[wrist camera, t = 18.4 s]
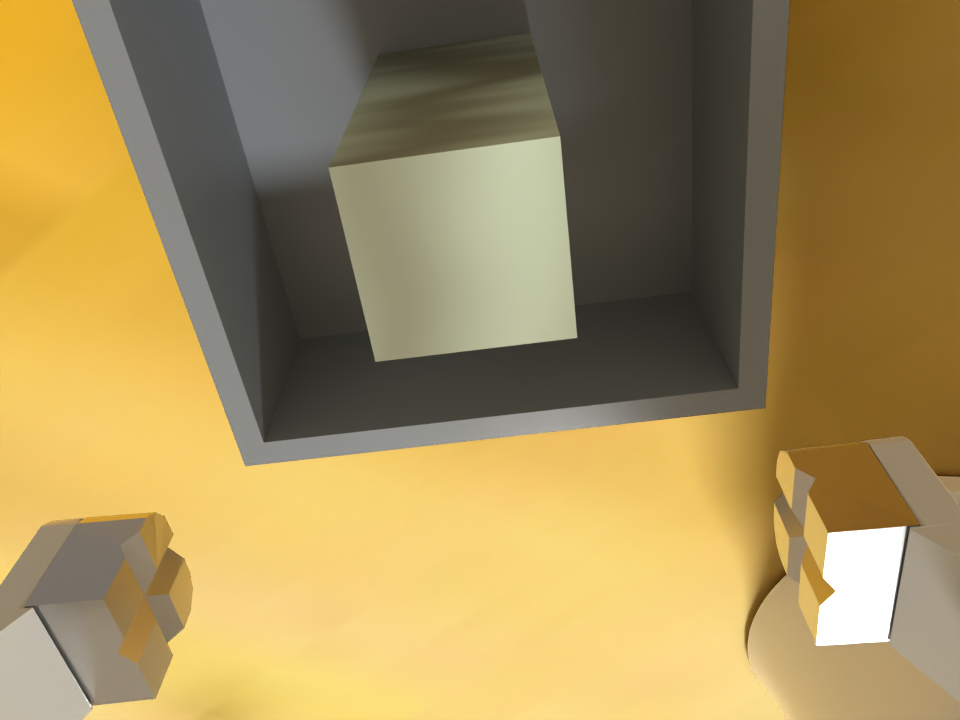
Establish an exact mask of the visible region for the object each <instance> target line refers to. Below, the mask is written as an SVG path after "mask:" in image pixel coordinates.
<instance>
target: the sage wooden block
mask: <svg viewBox="0 0 960 720" xmlns="http://www.w3.org/2000/svg"><path fill="white" fill-rule="evenodd" d="M329 172H330V176H331V180H332V184H333V188H334V192H335V196H336V201H337V205H338V209H339V213H340V217H341V221H342V225H343V230H344V234H345V238H346V242H347V246H348V250H349V254H350V258H351V263H352V267H353V271H354V275H355V279H356V283H357V287H358V292H359V296H360V300H361V304H362V308H363V312H364V316H365V321H366V325H367V329H368V333H369V337H370V341H371V345H372V350H373V354H374V358H375V362H379V361H387V360H396V359H404V358H412V357H421V356H429V355H438V354H446V353H454V352H463V351H471V350H480V349H488V348H496V347H505V346H513V345H522V344H530V343H538V342H547V341H555V340H564V339H572V338H577V328H576V317H575V305H574V293H573V281H572V269H571V258H570V246H569V234H568V222H567V210H566V199H565V187H564V175H563V163H562V151H561V140H560V134H559V130H558V127H557V123H556V120H555V117H554V113H553V110H552V106H551V103H550V99H549V96H548V92H547V89H546V86H545V82H544V79H543V75H542V72H541V68H540V65H539V61H538V58H537V55H536V51H535V48H534V44H533V41H532V37H531V34H530V32H529V33H522V34H515V35H508V36H502V37H495V38H488V39H481V40H474V41H467V42H460V43H453V44H446V45H439V46H432V47H425V48H418V49H412V50H405V51H398V52H391V53H384V54H379V55H378V58H377V60H376V62H375V64H374V67H373V69H372V71H371V73H370V76H369V78H368V80H367V82H366V85H365V87H364V89H363V91H362V94H361V96H360V98H359V100H358V103H357V105H356V107H355V109H354V112H353V114H352V116H351V118H350V121H349V123H348V125H347V127H346V130H345V132H344V134H343V136H342V139H341V141H340V143H339V145H338V148H337V150H336V152H335V154H334V157H333V159H332V161H331V163H330V166H329Z"/></svg>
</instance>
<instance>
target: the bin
mask: <svg viewBox="0 0 960 720" xmlns="http://www.w3.org/2000/svg"><path fill="white" fill-rule="evenodd" d="M72 2H73V4H74V7H75V10H76V12H77V15H78V18H79V21H80V23H81V26H82V29H83V31H84V34H85V37H86V39H87V42H88V45H89V47H90V50H91V53H92V55H93V58H94V61H95V64H96V66H97V69H98V72H99V74H100V77H101V80H102V82H103V85H104V88H105V90H106V93H107V96H108V98H109V101H110V104H111V107H112V109H113V112H114V115H115V117H116V120H117V123H118V125H119V128H120V131H121V133H122V136H123V139H124V141H125V144H126V147H127V150H128V152H129V155H130V158H131V160H132V163H133V166H134V168H135V171H136V174H137V176H138V179H139V182H140V184H141V187H142V190H143V193H144V195H145V198H146V201H147V203H148V206H149V209H150V211H151V214H152V217H153V219H154V222H155V225H156V227H157V230H158V233H159V236H160V238H161V241H162V244H163V246H164V249H165V252H166V254H167V257H168V260H169V262H170V265H171V268H172V270H173V273H174V276H175V279H176V281H177V284H178V287H179V289H180V292H181V295H182V297H183V300H184V303H185V305H186V308H187V311H188V313H189V316H190V319H191V321H192V324H193V327H194V330H195V332H196V335H197V338H198V340H199V343H200V346H201V348H202V351H203V354H204V356H205V359H206V362H207V364H208V367H209V370H210V373H211V375H212V378H213V381H214V383H215V386H216V389H217V391H218V394H219V397H220V399H221V402H222V405H223V407H224V410H225V413H226V416H227V418H228V421H229V424H230V426H231V429H232V432H233V434H234V437H235V440H236V442H237V445H238V448H239V450H240V453H241V456H242V459H243V461H244V464H245V466H251V465H260V464H269V463H278V462H287V461H296V460H305V459H314V458H323V457H332V456H340V455H349V454H358V453H367V452H376V451H385V450H394V449H403V448H412V447H421V446H430V445H439V444H448V443H457V442H466V441H475V440H483V439H492V438H501V437H510V436H519V435H528V434H537V433H546V432H555V431H564V430H573V429H582V428H591V427H600V426H609V425H618V424H626V423H635V422H644V421H653V420H662V419H671V418H680V417H689V416H698V415H707V414H716V413H725V412H734V411H743V410H752V409H761V408H765V405H766V388H767V372H768V355H769V338H770V322H771V305H772V289H773V272H774V255H775V239H776V222H777V205H778V189H779V172H780V156H781V139H782V122H783V106H784V89H785V72H786V56H787V39H788V23H789V6H790V0H72ZM529 32H530V34H531V37H532V41H533V44H534V48H535V51H536V55H537V58H538V61H539V65H540V68H541V72H542V75H543V79H544V82H545V86H546V89H547V92H548V96H549V99H550V103H551V106H552V110H553V113H554V117H555V120H556V123H557V127H558V130H559V134H560V140H561V151H562V163H563V175H564V187H565V199H566V210H567V222H568V234H569V246H570V258H571V269H572V281H573V293H574V305H575V317H576V328H577V338H572V339H564V340H555V341H547V342H538V343H530V344H522V345H513V346H505V347H496V348H488V349H480V350H471V351H463V352H454V353H446V354H438V355H429V356H421V357H412V358H404V359H396V360H387V361H379V362H375V358H374V354H373V350H372V345H371V341H370V337H369V333H368V329H367V325H366V321H365V316H364V312H363V308H362V304H361V300H360V296H359V292H358V287H357V283H356V279H355V275H354V271H353V267H352V263H351V258H350V254H349V250H348V246H347V242H346V238H345V234H344V230H343V225H342V221H341V217H340V213H339V209H338V205H337V201H336V196H335V192H334V188H333V184H332V180H331V176H330V172H329V166H330V163H331V161H332V159H333V157H334V154H335V152H336V150H337V148H338V145H339V143H340V141H341V139H342V136H343V134H344V132H345V130H346V127H347V125H348V123H349V121H350V118H351V116H352V114H353V112H354V109H355V107H356V105H357V103H358V100H359V98H360V96H361V94H362V91H363V89H364V87H365V85H366V82H367V80H368V78H369V76H370V73H371V71H372V69H373V67H374V64H375V62H376V60H377V58H378V55H379V54H384V53H391V52H398V51H405V50H412V49H418V48H425V47H432V46H439V45H446V44H453V43H460V42H467V41H474V40H481V39H488V38H495V37H502V36H508V35H515V34H522V33H529Z"/></svg>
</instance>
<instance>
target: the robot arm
mask: <svg viewBox="0 0 960 720" xmlns="http://www.w3.org/2000/svg"><path fill="white" fill-rule="evenodd" d="M776 477H777V479H778V482H779V484H780V486H781V488H782V490H783V493H782V495H781V496H780V497H779V498H778V499H777V500H776V501H775V502H774V530H775V538H776V545H777V548H778V552H779V556H780V559H781V562H782V564H783V567H784V569H785V572H786V574H787V575H786V576H784V577H783V578H782V579H781V580H780V581H779V582H778V583H777V585H776V586H775V587H774V588H773V589H772V590H771V591H770V593H769V594H768V595H767V597H766V598H765V599H764V601H763V602H762V604H761V605H760V607H759V609H758V611H757V613H756V615H755V617H754V619H753V622H752V625H751V628H750V631H749V636H748V658H749V662H750V666H751V668H752V671H753V673H754V675H755V677H756V678H757V680H758V681H759V683H760V684H761V685H762V687H763V688H764V689H765V690H766V692H767V693H768V694H769V696H770V697H771V698H772V699H773V701H774V702H775V704H776V705H777V707H778V708H779V709H780V711H781V713H782V714H783V716H784V717H785V719H786V720H960V477H950V476H937V475H936V474H935V472H934V471H933V470H932V468H931V467H930V466H929V464H928V463H927V462H926V460H925V459H924V458H923V456H922V455H921V454H920V452H919V451H918V450H917V448H916V447H915V446H914V444H913V443H912V442H911V440H910V439H908V438H906V437H904V436H897V437H888V438H880V439H872V440H864V441H861V442H856V443H846V444H837V445H827V446H818V447H808V448H798V449H789V450H780V452H779V455H778V458H777V467H776ZM172 536H173V532H172V530H171V528H170V526H169V524H168V522H167V520H166V518H165V516H163V515H161V514H158V513H155V512H153V513H140V514H126V515H113V516H100V517H87V518H85V519H68V520H56V521H51V522H49V523H47V524H45V525H43V526H41V527H40V529H39V530H38V532H37V533H36V535H35V536H34V537H33V539H32V540H31V542H30V543H29V545H28V546H27V548H26V549H25V551H24V552H23V553H22V555H21V556H20V558H19V559H18V561H17V562H16V564H15V565H14V566H13V568H12V569H11V571H10V572H9V574H8V575H7V577H6V578H5V580H4V581H3V582H2V584H1V585H0V720H82V719H83V718H84V717H85V716H86V715H87V714H88V713H89V712H90V711H91V710H92V706H93V705H102V704H111V703H120V702H129V701H138V700H147V699H155V698H156V696H157V694H158V691H159V689H160V686H161V684H162V681H163V679H164V676H165V674H166V672H167V669H168V667H169V664H170V662H171V659H172V657H173V655H172V652H171V650H170V648H169V646H168V642H169V641H170V640H171V639H172V638H173V637H174V636H176V635H177V634H178V633H179V632H180V631H181V630H182V629H184V627H185V624H186V622H187V619H188V616H189V614H190V611H191V602H192V591H193V587H192V581H191V576H190V571H189V569H188V567H187V564H186V562H185V559H184V558H183V557H181V556H180V555H178V554H177V553H175V552H174V551H172V550H171V549H170V548H168V546H169V543H170V541H171V539H172Z"/></svg>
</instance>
